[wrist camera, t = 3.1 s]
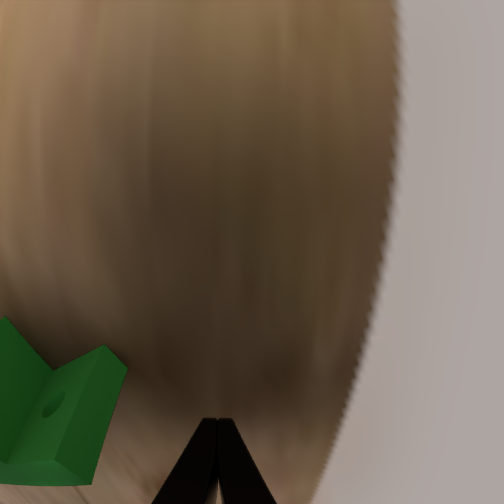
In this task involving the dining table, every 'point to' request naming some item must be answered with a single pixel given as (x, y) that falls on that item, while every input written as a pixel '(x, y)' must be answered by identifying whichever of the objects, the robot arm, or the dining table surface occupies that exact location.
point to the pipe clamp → (53, 412)
